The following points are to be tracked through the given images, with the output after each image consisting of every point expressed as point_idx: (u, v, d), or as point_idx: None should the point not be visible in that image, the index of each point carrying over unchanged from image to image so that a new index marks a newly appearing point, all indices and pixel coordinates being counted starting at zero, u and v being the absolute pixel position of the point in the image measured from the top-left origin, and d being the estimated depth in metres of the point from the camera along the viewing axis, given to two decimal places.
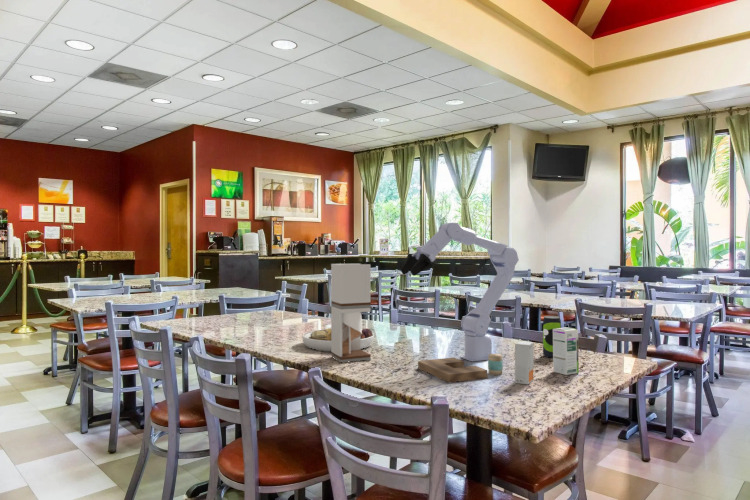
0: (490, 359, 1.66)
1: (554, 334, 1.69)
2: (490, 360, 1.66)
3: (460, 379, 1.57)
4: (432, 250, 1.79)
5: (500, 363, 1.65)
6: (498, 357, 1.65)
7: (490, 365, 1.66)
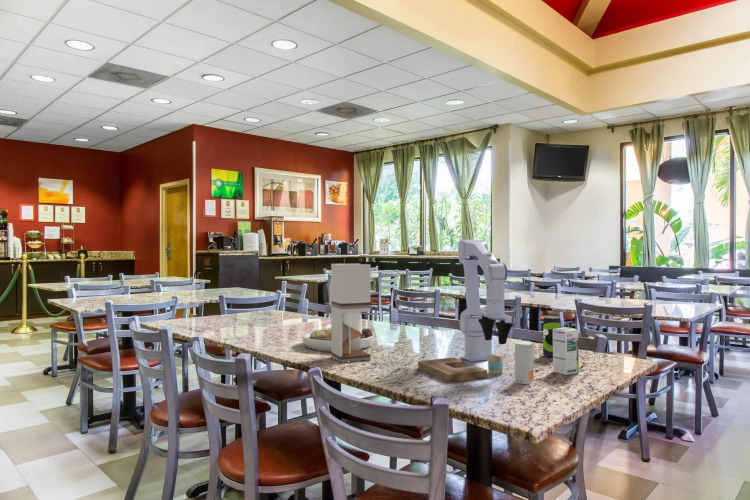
0: (490, 359, 1.66)
1: (554, 334, 1.69)
2: (490, 360, 1.66)
3: (460, 379, 1.57)
4: (500, 307, 1.64)
5: (500, 363, 1.65)
6: (498, 357, 1.65)
7: (490, 365, 1.66)
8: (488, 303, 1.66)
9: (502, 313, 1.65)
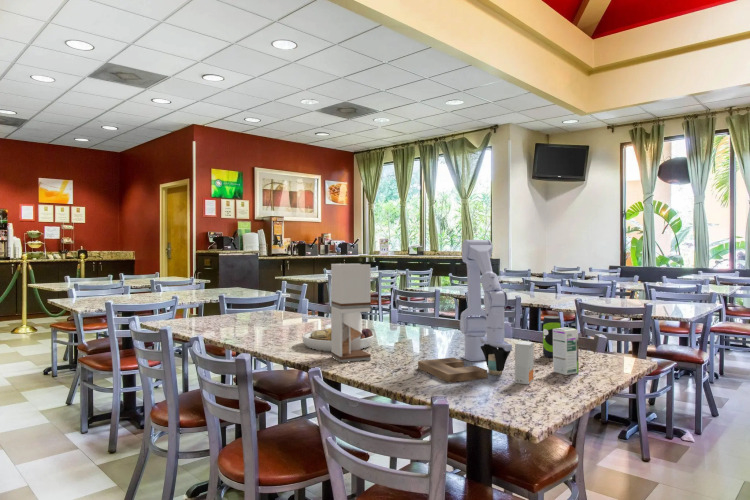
0: (490, 359, 1.66)
1: (554, 334, 1.69)
2: (490, 360, 1.66)
3: (460, 379, 1.57)
4: (500, 335, 1.64)
5: None
6: None
7: (490, 365, 1.66)
8: (488, 330, 1.66)
9: (502, 340, 1.65)
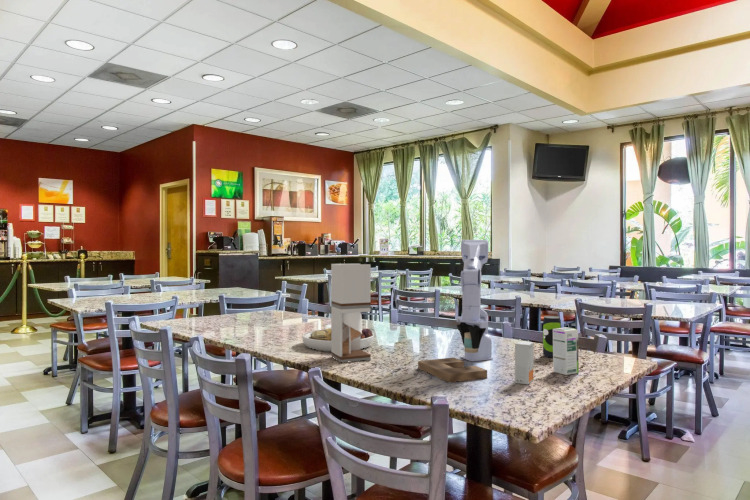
0: (466, 337, 1.67)
1: (554, 334, 1.69)
2: (466, 338, 1.67)
3: (460, 379, 1.57)
4: (475, 312, 1.66)
5: None
6: None
7: (466, 343, 1.67)
8: (464, 308, 1.67)
9: (477, 318, 1.66)
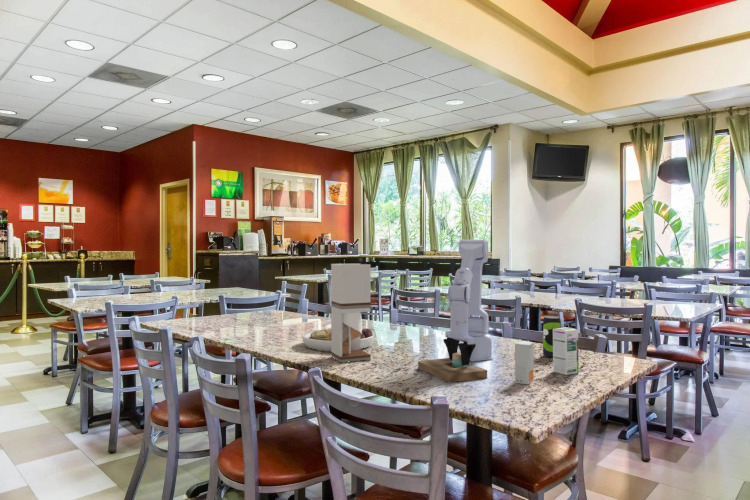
0: (454, 358, 1.68)
1: (554, 334, 1.69)
2: (454, 359, 1.68)
3: (460, 379, 1.57)
4: (463, 328, 1.66)
5: None
6: None
7: (454, 364, 1.68)
8: (452, 324, 1.68)
9: (465, 334, 1.67)
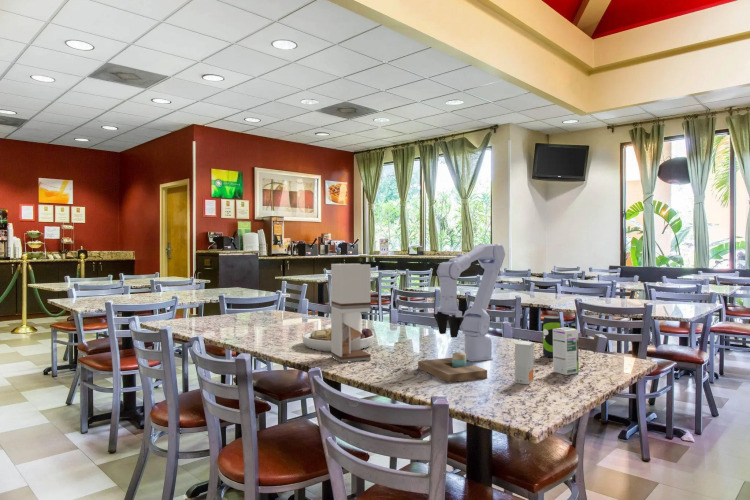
0: (454, 358, 1.68)
1: (554, 334, 1.69)
2: (454, 359, 1.68)
3: (460, 379, 1.57)
4: (452, 303, 1.76)
5: (463, 362, 1.67)
6: (461, 356, 1.67)
7: (454, 364, 1.68)
8: (441, 299, 1.77)
9: (454, 308, 1.76)
